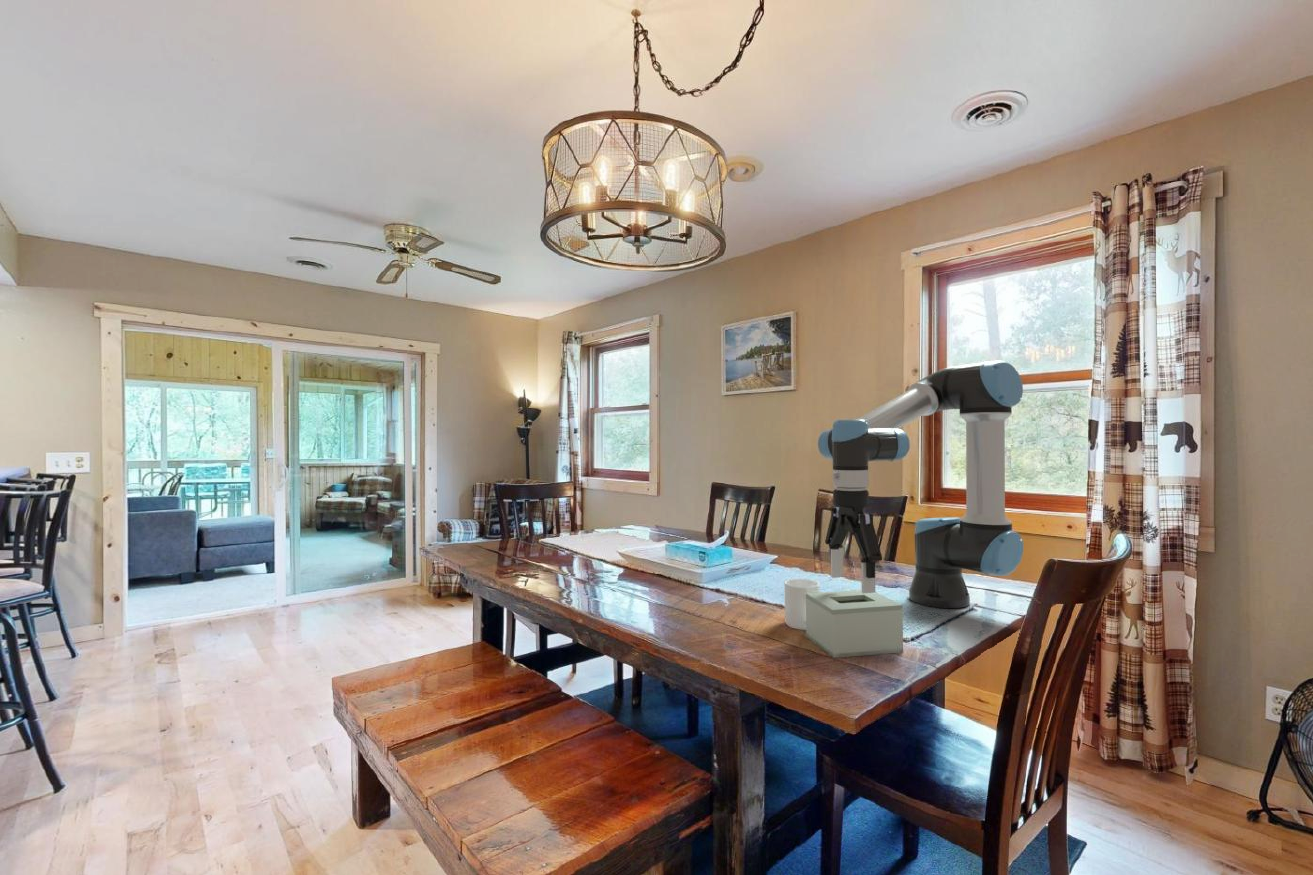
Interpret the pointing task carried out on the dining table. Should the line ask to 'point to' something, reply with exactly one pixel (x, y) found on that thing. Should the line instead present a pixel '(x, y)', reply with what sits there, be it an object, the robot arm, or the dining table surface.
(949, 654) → the dining table surface
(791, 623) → the mug
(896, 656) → the dining table surface
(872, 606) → the box
